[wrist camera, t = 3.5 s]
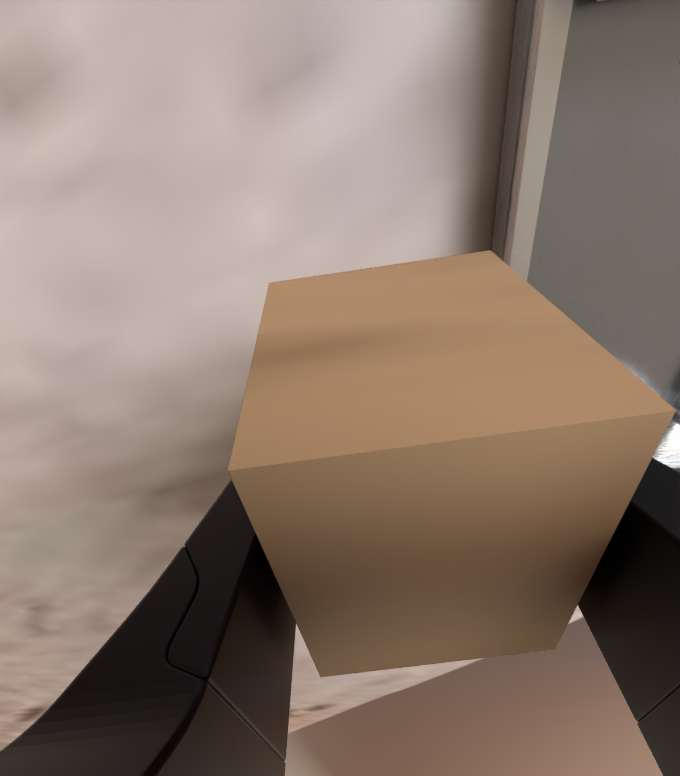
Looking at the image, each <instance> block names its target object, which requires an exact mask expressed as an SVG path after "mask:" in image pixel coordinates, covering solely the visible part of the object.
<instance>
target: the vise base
mask: <svg viewBox="0 0 680 776" xmlns="http://www.w3.org/2000/svg"><path fill="white" fill-rule="evenodd" d="M491 251H492V252H493V253H494V254H495V255H497V256H498V257H499V258H500V259H501V260H502V261H503V262H505V263H506V264H507V265H508V266H509V267H510V268H512V269H513V270H514V271H515V272H516V273H517V274H519V275H520V276H521V277H522V278H523V279H524V280H526V281H527V282H528V283H529V284H530V285H531V286H532V287H534V288H535V289H536V290H537V291H538V292H539V293H541V294H542V295H543V296H544V297H545V298H546V299H548V300H549V301H550V302H551V303H552V304H553V305H555V306H556V307H557V308H558V309H559V310H560V311H561V312H563V313H564V314H565V315H566V316H567V317H568V318H570V319H571V320H572V321H573V322H574V323H575V324H577V325H578V326H579V327H580V328H581V329H582V330H584V331H585V332H586V333H587V334H588V335H589V336H590V337H592V338H593V339H594V340H595V341H596V342H597V343H599V344H600V345H601V346H602V347H603V348H604V349H606V350H607V351H608V352H609V353H610V354H611V355H613V356H614V357H615V358H616V359H617V360H618V361H620V362H621V363H622V364H623V365H624V366H625V367H626V368H628V369H629V370H630V371H631V372H632V373H633V374H635V375H636V376H637V377H638V378H639V379H640V380H642V381H643V382H644V383H645V384H646V385H647V386H649V387H650V388H651V389H652V390H653V391H654V392H655V393H657V394H658V395H659V396H660V397H661V398H662V399H664V400H665V401H666V402H667V403H668V404H669V405H671V406H672V407H673V408H674V409H675V410H676V412H675V414H674V416H673V418H672V420H671V422H670V424H669V425H668V427H667V429H666V431H665V433H664V435H663V437H662V439H661V441H660V443H659V445H658V447H657V449H656V451H655V453H654V455H653V457H652V458H654V459H656V460H658V461H660V462H662V463H663V464H665V465H667V466H669V467H671V468H673V469H675V470H676V471H678V472H680V0H603V1H597V0H517V8H516V18H515V28H514V37H513V47H512V57H511V66H510V76H509V86H508V95H507V105H506V115H505V124H504V134H503V144H502V153H501V163H500V173H499V182H498V192H497V202H496V211H495V221H494V231H493V240H492V250H491Z"/></svg>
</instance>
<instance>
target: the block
mask: <svg viewBox="0 0 680 776" xmlns="http://www.w3.org/2000/svg"><path fill="white" fill-rule="evenodd" d="M675 412H676V410H675V409H674V408H673V407H672V406H671V405H669V404H668V403H667V402H666V401H665V400H664V399H662V398H661V397H660V396H659V395H658V394H657V393H655V392H654V391H653V390H652V389H651V388H650V387H649V386H647V385H646V384H645V383H644V382H643V381H642V380H640V379H639V378H638V377H637V376H636V375H635V374H633V373H632V372H631V371H630V370H629V369H628V368H626V367H625V366H624V365H623V364H622V363H621V362H620V361H618V360H617V359H616V358H615V357H614V356H613V355H611V354H610V353H609V352H608V351H607V350H606V349H604V348H603V347H602V346H601V345H600V344H599V343H597V342H596V341H595V340H594V339H593V338H592V337H590V336H589V335H588V334H587V333H586V332H585V331H584V330H582V329H581V328H580V327H579V326H578V325H577V324H575V323H574V322H573V321H572V320H571V319H570V318H568V317H567V316H566V315H565V314H564V313H563V312H561V311H560V310H559V309H558V308H557V307H556V306H555V305H553V304H552V303H551V302H550V301H549V300H548V299H546V298H545V297H544V296H543V295H542V294H541V293H539V292H538V291H537V290H536V289H535V288H534V287H532V286H531V285H530V284H529V283H528V282H527V281H526V280H524V279H523V278H522V277H521V276H520V275H519V274H517V273H516V272H515V271H514V270H513V269H512V268H510V267H509V266H508V265H507V264H506V263H505V262H503V261H502V260H501V259H500V258H499V257H498V256H497V255H495V254H494V253H493V252H492V251H491V250H488V251H482V252H475V253H468V254H461V255H455V256H448V257H441V258H434V259H428V260H421V261H414V262H407V263H401V264H394V265H387V266H381V267H374V268H367V269H360V270H354V271H347V272H340V273H333V274H327V275H320V276H313V277H306V278H300V279H293V280H286V281H279V282H273V283H269V286H268V291H267V295H266V300H265V304H264V309H263V313H262V318H261V323H260V327H259V332H258V336H257V341H256V345H255V350H254V354H253V359H252V363H251V368H250V372H249V377H248V381H247V386H246V390H245V395H244V399H243V404H242V408H241V413H240V417H239V422H238V426H237V431H236V435H235V440H234V445H233V449H232V454H231V458H230V463H229V467H228V472H229V475H230V477H231V479H232V481H233V484H234V486H235V488H236V490H237V492H238V495H239V497H240V499H241V501H242V504H243V506H244V508H245V510H246V512H247V515H248V517H249V519H250V521H251V524H252V526H253V528H254V530H255V532H256V535H257V537H258V539H259V541H260V544H261V546H262V548H263V550H264V552H265V555H266V557H267V559H268V561H269V564H270V566H271V568H272V570H273V572H274V575H275V577H276V579H277V581H278V584H279V586H280V588H281V590H282V592H283V595H284V597H285V599H286V601H287V604H288V606H289V608H290V610H291V612H292V615H293V617H294V619H295V621H296V623H297V626H298V628H299V630H300V632H301V635H302V637H303V639H304V641H305V643H306V646H307V648H308V650H309V652H310V655H311V657H312V659H313V661H314V663H315V666H316V668H317V670H318V672H319V675H320V677H325V676H334V675H342V674H351V673H359V672H368V671H376V670H385V669H393V668H402V667H410V666H419V665H427V664H435V663H444V662H452V661H461V660H469V659H478V658H486V657H494V656H503V655H511V654H520V653H528V652H537V651H545V650H554V649H555V648H556V646H557V644H558V642H559V640H560V638H561V636H562V634H563V632H564V630H565V628H566V626H567V624H568V622H569V621H570V619H571V617H572V615H573V613H574V611H575V609H576V607H577V605H578V603H579V601H580V599H581V597H582V595H583V593H584V591H585V589H586V587H587V585H588V583H589V581H590V579H591V577H592V575H593V573H594V571H595V569H596V567H597V565H598V563H599V561H600V559H601V557H602V556H603V554H604V552H605V550H606V548H607V546H608V544H609V542H610V540H611V538H612V536H613V534H614V532H615V530H616V528H617V526H618V524H619V522H620V520H621V518H622V516H623V514H624V512H625V510H626V508H627V506H628V504H629V502H630V500H631V498H632V496H633V494H634V492H635V491H636V489H637V487H638V485H639V483H640V481H641V479H642V477H643V475H644V473H645V471H646V469H647V467H648V465H649V463H650V461H651V459H652V457H653V455H654V453H655V451H656V449H657V447H658V445H659V443H660V441H661V439H662V437H663V435H664V433H665V431H666V429H667V427H668V425H669V424H670V422H671V420H672V418H673V416H674V414H675Z"/></svg>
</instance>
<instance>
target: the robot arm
mask: <svg viewBox="0 0 680 776" xmlns="http://www.w3.org/2000/svg"><path fill="white" fill-rule="evenodd" d="M578 606H579V608H580V610H581V612H582V614H583V616H584V618H585V620H586V622H587V624H588V626H589V628H590V630H591V632H592V634H593V636H594V638H595V640H596V642H597V644H598V646H599V648H600V650H601V652H602V654H603V656H604V658H605V660H606V662H607V664H608V666H609V668H610V670H611V672H612V674H613V676H614V678H615V680H616V682H617V684H618V686H619V688H620V690H621V692H622V694H623V696H624V698H625V700H626V701H627V704H628V705H629V708H630V710H631V712H632V714H633V716H634V718H635V719H636V720H637V721H639V722H638V726H639V728H640V730H641V732H642V734H643V736H644V738H645V740H646V742H647V744H648V746H649V748H650V750H651V752H652V754H653V756H654V758H655V760H656V762H657V764H658V766H659V768H660V770H661V772H662V774H663V776H680V472H678V471H676V470H675V469H673V468H671V467H669V466H667V465H665V464H663V463H662V462H660V461H658V460H656V459H654V458H652V459H651V461H650V463H649V465H648V467H647V469H646V471H645V473H644V475H643V477H642V479H641V481H640V483H639V485H638V487H637V489H636V491H635V492H634V494H633V496H632V498H631V500H630V502H629V504H628V506H627V508H626V510H625V512H624V514H623V516H622V518H621V520H620V522H619V524H618V526H617V528H616V530H615V532H614V534H613V536H612V538H611V540H610V542H609V544H608V546H607V548H606V550H605V552H604V554H603V556H602V557H601V559H600V561H599V563H598V565H597V567H596V569H595V571H594V573H593V575H592V577H591V579H590V581H589V583H588V585H587V587H586V589H585V591H584V593H583V595H582V597H581V599H580V601H579V603H578ZM295 629H296V621H295V619H294V617H293V615H292V612H291V610H290V608H289V606H288V604H287V601H286V599H285V597H284V595H283V592H282V590H281V588H280V586H279V584H278V581H277V579H276V577H275V575H274V572H273V570H272V568H271V566H270V564H269V561H268V559H267V557H266V555H265V552H264V550H263V548H262V546H261V544H260V541H259V539H258V537H257V535H256V532H255V530H254V528H253V526H252V524H251V521H250V519H249V517H248V515H247V512H246V510H245V508H244V506H243V504H242V501H241V499H240V497H239V495H238V492H237V490H236V488H235V486H234V484H233V481H232V479H231V480H230V482H229V483H228V485H227V486H226V487H225V489H224V490H223V491H222V493H221V494H220V496H219V497H218V498H217V500H216V501H215V502H214V504H213V505H212V507H211V508H210V509H209V511H208V512H207V514H206V515H205V516H204V518H203V519H202V520H201V522H200V523H199V525H198V526H197V527H196V529H195V530H194V531H193V533H192V534H191V536H190V537H189V538H188V540H187V541H186V543H185V547H182V548H181V549H180V551H179V552H178V553H177V555H176V556H175V557H174V559H173V560H172V562H171V563H170V564H169V566H168V567H167V568H166V570H165V571H164V572H163V574H162V575H161V576H160V578H159V579H158V580H157V581H156V583H155V584H154V585H153V587H152V588H151V589H150V591H149V592H148V593H147V594H146V596H145V597H144V598H143V599H142V600H141V602H140V603H139V604H138V605H137V606H136V608H135V609H134V610H133V611H132V612H131V614H130V615H129V616H128V617H127V619H126V620H125V621H124V622H123V623H122V624H121V626H120V627H119V628H118V629H117V630H116V631H115V633H114V634H113V635H112V636H111V637H110V638H109V640H108V641H107V642H106V643H105V644H104V645H103V647H102V648H101V649H100V650H99V651H98V652H97V654H96V655H95V656H94V657H93V658H92V659H91V660H90V662H89V663H88V664H87V665H86V666H85V667H84V669H83V670H82V671H81V672H80V673H79V674H78V676H77V677H76V678H75V679H74V680H73V681H72V683H71V684H70V685H69V686H68V687H67V688H66V690H65V691H64V692H63V693H62V694H61V695H60V697H59V698H58V699H57V700H56V701H55V702H54V703H53V704H52V705H51V706H50V708H49V709H48V710H47V711H46V712H45V713H44V714H43V715H42V716H41V717H40V718H39V719H38V720H37V721H36V722H35V723H34V724H33V725H31V726H30V727H29V728H28V729H27V730H26V731H25V732H24V733H22V734H21V735H20V736H19V737H18V738H17V739H15V740H14V741H13V742H12V743H10V744H9V745H8V746H7V747H5V748H4V749H3V750H1V751H0V776H285V762H284V761H285V759H286V748H287V735H288V722H289V709H290V695H291V682H292V669H293V656H294V642H295Z"/></svg>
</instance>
